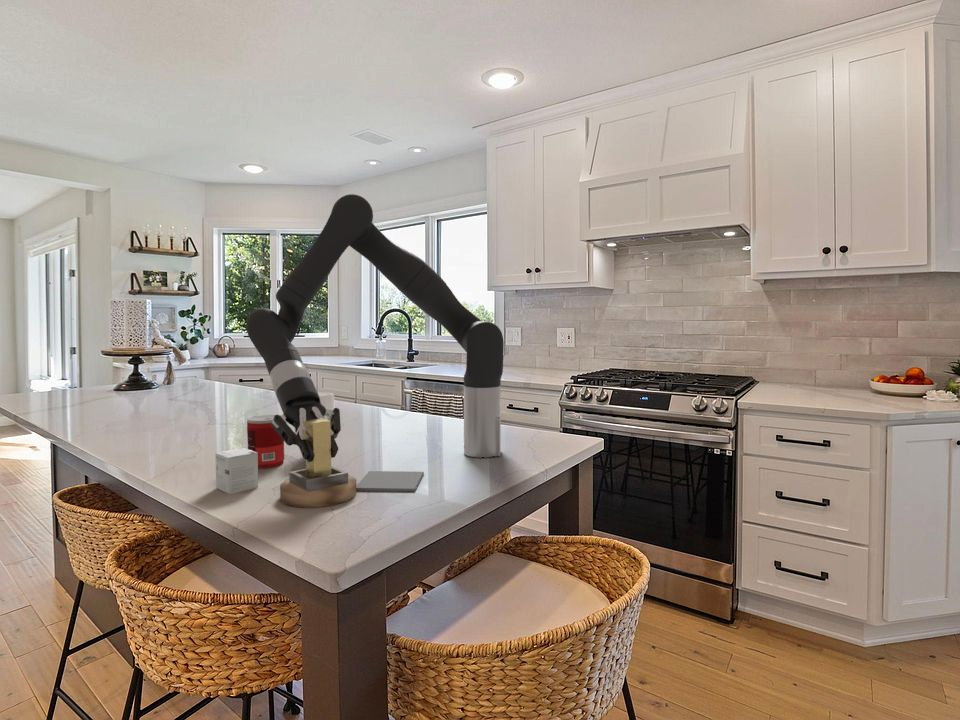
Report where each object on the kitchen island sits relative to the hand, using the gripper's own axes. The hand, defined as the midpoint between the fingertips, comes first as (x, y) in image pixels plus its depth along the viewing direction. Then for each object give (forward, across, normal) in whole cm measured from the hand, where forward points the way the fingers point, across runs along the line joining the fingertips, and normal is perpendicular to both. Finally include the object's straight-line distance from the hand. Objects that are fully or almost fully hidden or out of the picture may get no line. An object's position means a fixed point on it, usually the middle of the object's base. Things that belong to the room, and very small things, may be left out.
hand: (323, 457), depth 103 cm
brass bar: (+2, 0, +5) cm, 6 cm away
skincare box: (-7, -10, +18) cm, 22 cm away
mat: (+6, +15, +5) cm, 17 cm away
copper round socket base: (+4, 0, +7) cm, 8 cm away
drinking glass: (-18, +16, +30) cm, 38 cm away
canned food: (-17, +1, +28) cm, 33 cm away
